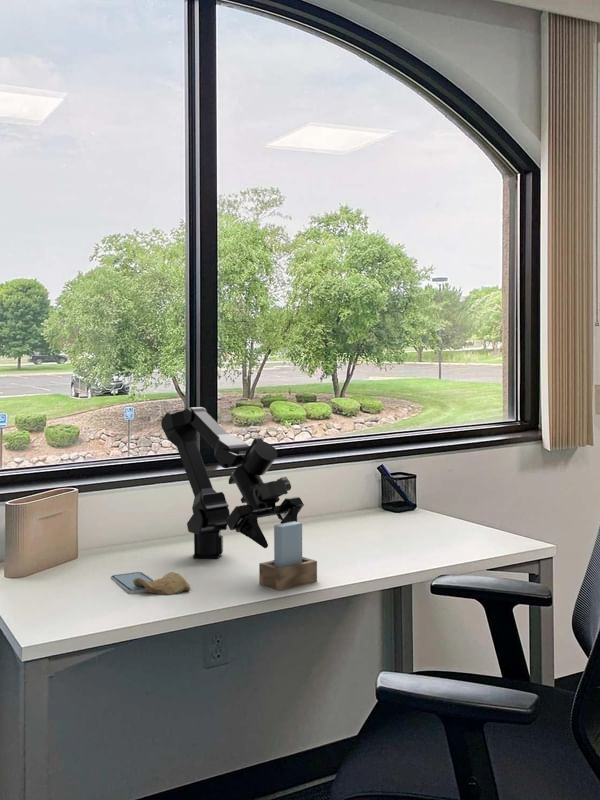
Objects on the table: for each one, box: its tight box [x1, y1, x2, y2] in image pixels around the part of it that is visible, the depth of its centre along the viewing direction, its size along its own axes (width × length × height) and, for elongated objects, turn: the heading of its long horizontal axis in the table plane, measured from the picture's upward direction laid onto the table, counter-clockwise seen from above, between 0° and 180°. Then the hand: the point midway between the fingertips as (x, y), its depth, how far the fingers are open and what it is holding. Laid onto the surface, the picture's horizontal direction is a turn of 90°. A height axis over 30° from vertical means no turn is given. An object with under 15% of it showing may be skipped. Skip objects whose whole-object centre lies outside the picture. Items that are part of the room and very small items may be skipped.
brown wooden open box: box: [258, 556, 318, 592], centre depth 173 cm, size 11×7×4 cm, turn 132°
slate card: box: [273, 521, 303, 568], centre depth 173 cm, size 6×2×13 cm, turn 132°
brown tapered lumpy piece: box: [133, 571, 191, 596], centre depth 169 cm, size 11×4×10 cm
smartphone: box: [110, 571, 154, 595], centre depth 173 cm, size 7×1×15 cm
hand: (282, 543), depth 174 cm, fingers open, 9 cm apart
